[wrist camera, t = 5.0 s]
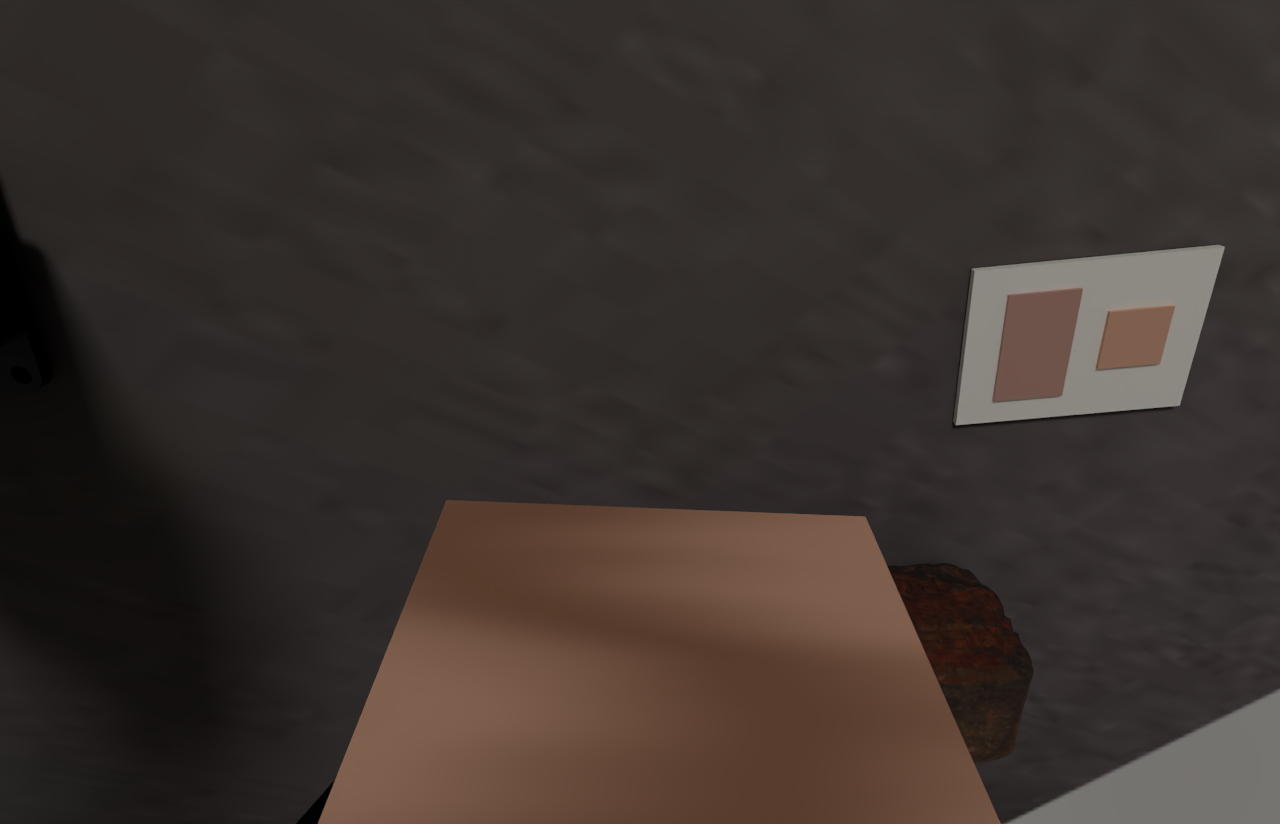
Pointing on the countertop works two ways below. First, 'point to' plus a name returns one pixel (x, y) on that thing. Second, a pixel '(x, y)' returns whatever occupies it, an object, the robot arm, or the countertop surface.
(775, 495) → the countertop surface
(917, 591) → the brick
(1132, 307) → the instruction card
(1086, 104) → the countertop surface
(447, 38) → the countertop surface
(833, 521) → the top block
